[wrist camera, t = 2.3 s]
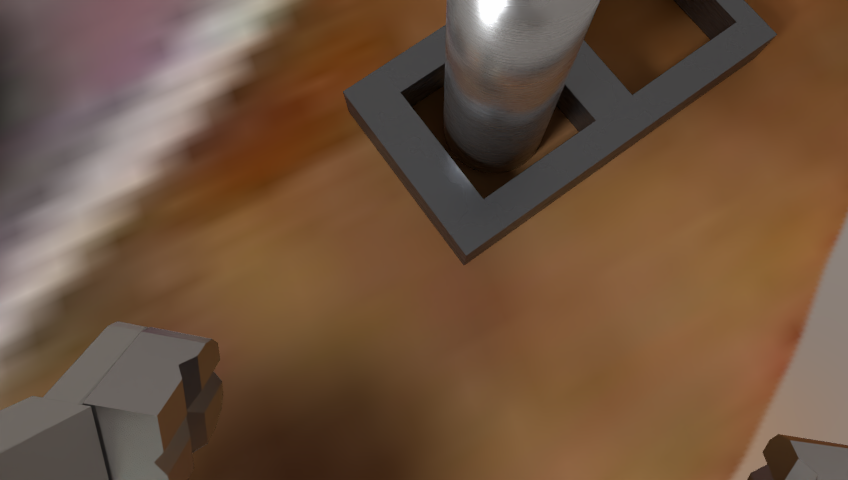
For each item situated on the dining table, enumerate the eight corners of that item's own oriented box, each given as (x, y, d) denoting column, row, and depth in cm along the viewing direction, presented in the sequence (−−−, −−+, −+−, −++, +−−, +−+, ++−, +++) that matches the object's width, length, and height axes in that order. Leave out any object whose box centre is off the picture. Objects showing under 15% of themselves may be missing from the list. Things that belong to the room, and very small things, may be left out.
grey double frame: (349, 111, 29) (342, 91, 27) (630, -74, 31) (643, -104, 29) (464, 265, 27) (466, 255, 25) (754, 58, 29) (777, 34, 28)
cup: (423, 115, 29) (415, -69, 17) (502, 62, 30) (545, -151, 18) (483, 192, 28) (516, 51, 17) (563, 135, 29) (650, -39, 17)
